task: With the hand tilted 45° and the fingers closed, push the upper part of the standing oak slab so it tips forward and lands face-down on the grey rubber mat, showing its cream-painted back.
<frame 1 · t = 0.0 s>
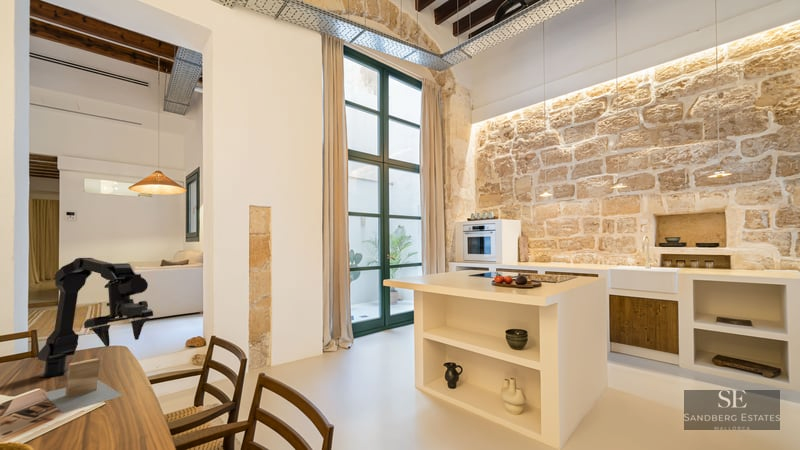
hand: (122, 343, 114), 15 cm above the table, tool pointing down, fingers open, 9 cm apart
oak slab: (81, 393, 107), resting on rubber mat
rubber mat: (82, 395, 106), on the table
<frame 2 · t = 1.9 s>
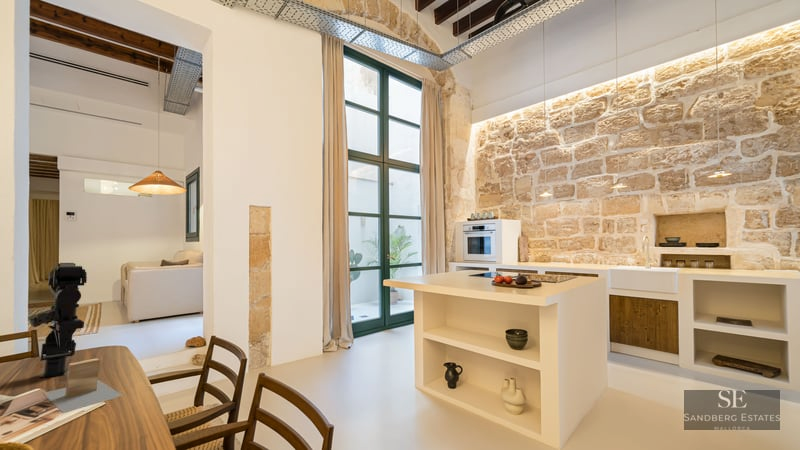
hand: (60, 346, 114), 13 cm above the table, tool pointing down, fingers closed
nothing on the table moved.
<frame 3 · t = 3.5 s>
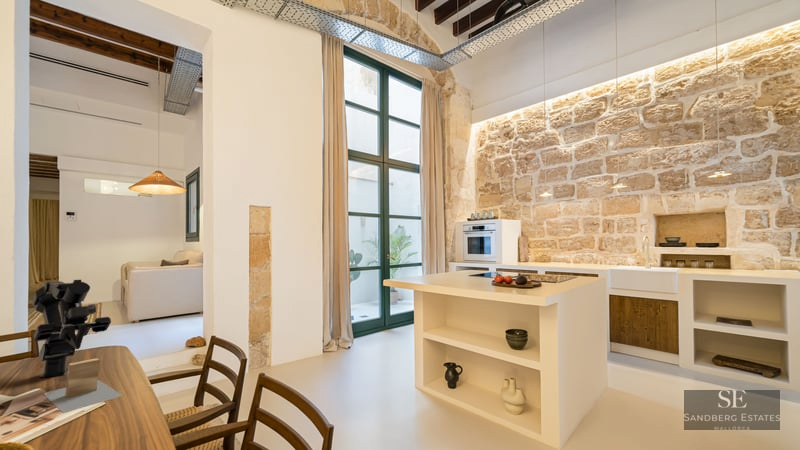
hand: (78, 348, 112), 13 cm above the table, tool tilted 45°, fingers closed
nothing on the table moved.
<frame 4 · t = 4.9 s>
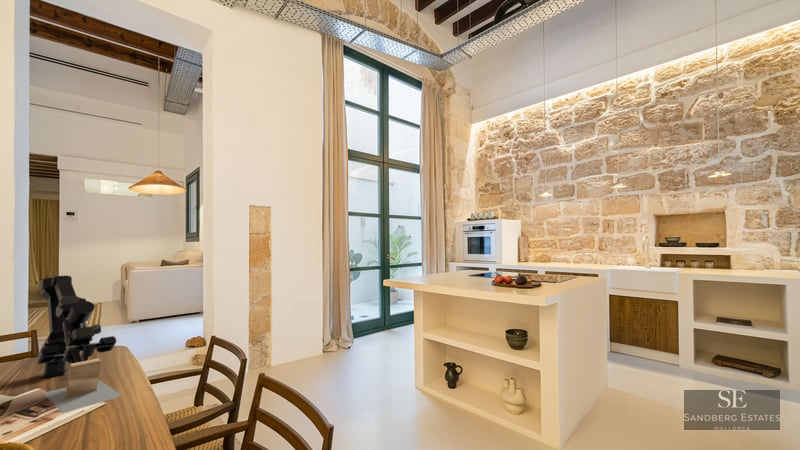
hand: (83, 370, 108), 7 cm above the table, tool tilted 45°, fingers closed
oak slab: (81, 392, 107), point 1 cm above the table, tilted 8°, touching rubber mat
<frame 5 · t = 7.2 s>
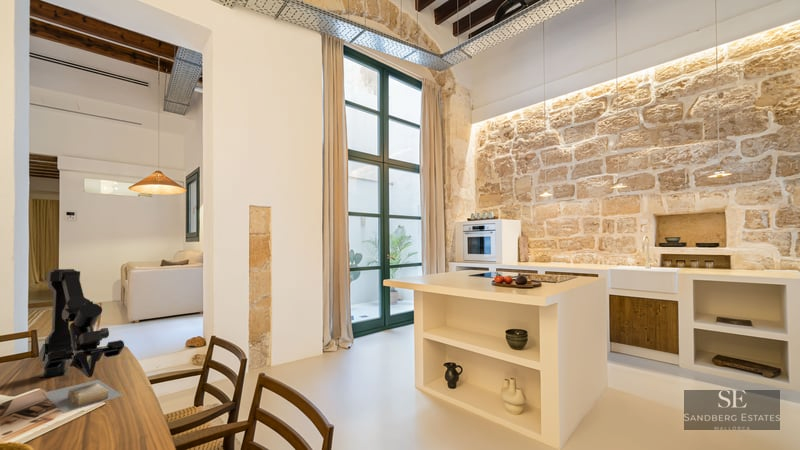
hand: (90, 376, 105), 7 cm above the table, tool tilted 45°, fingers closed
oak slab: (83, 390, 107), point 2 cm above the table, tilted 90°, touching rubber mat
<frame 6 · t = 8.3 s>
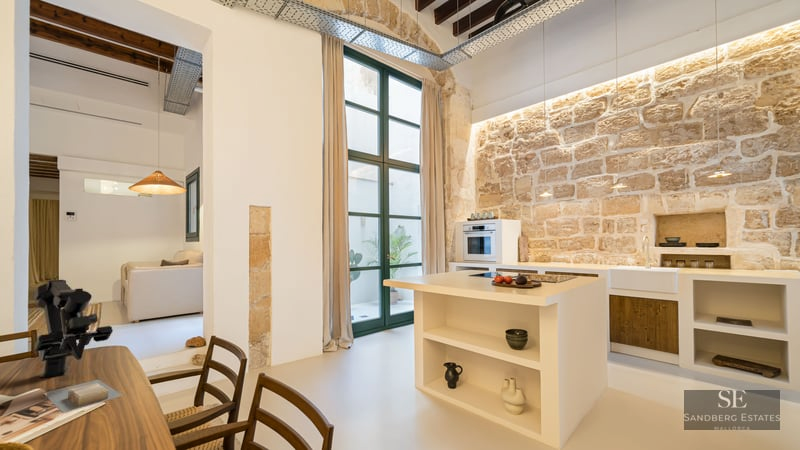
hand: (79, 358, 111), 10 cm above the table, tool tilted 45°, fingers closed
nothing on the table moved.
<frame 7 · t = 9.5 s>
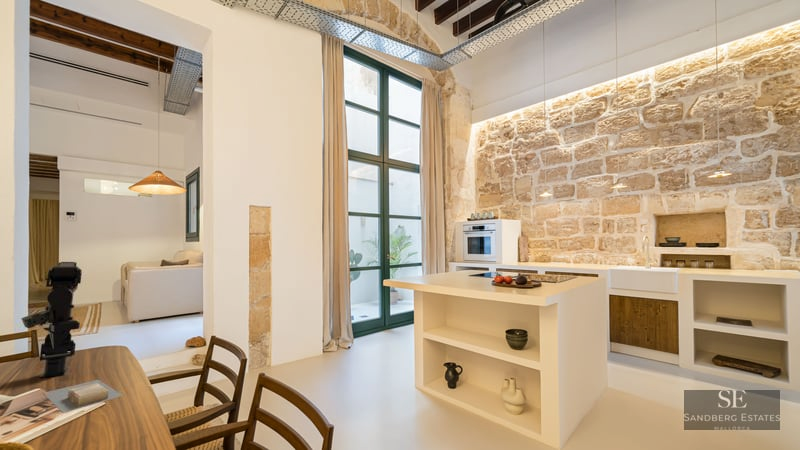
hand: (55, 348, 112), 13 cm above the table, tool pointing down, fingers closed
nothing on the table moved.
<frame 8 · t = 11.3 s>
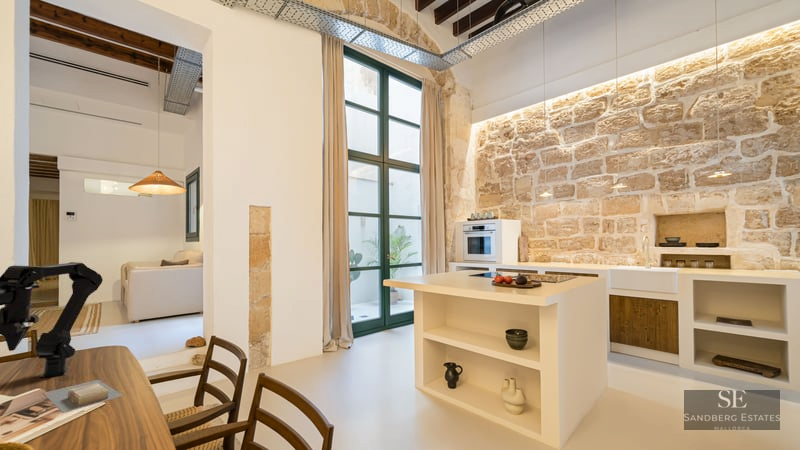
hand: (11, 350, 109), 13 cm above the table, tool pointing down, fingers closed
nothing on the table moved.
at the end: oak slab tilted 90°; oak slab 0.3 cm from the rubber mat (horizontally); oak slab point 1.6 cm above the table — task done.
